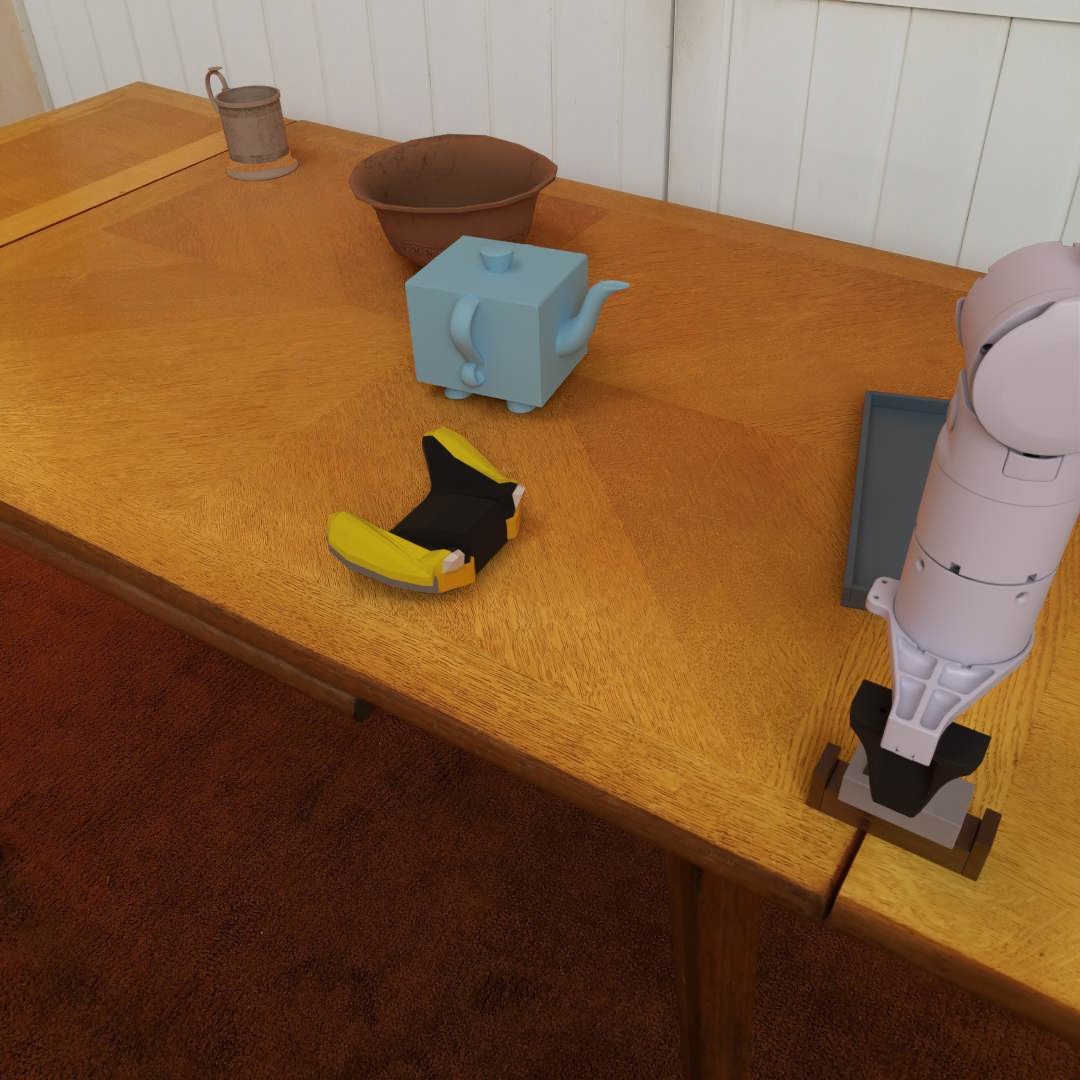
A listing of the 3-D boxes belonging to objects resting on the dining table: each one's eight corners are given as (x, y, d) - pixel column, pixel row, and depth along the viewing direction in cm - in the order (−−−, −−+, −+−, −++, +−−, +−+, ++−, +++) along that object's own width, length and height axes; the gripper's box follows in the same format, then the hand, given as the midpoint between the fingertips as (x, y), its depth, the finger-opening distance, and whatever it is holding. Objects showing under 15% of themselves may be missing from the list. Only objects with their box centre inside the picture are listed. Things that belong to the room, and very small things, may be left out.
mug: (312, 165, 139) (296, 72, 131) (254, 185, 133) (233, 90, 125) (251, 145, 146) (232, 56, 139) (193, 163, 141) (170, 72, 133)
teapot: (404, 410, 88) (385, 273, 80) (483, 332, 99) (474, 204, 91) (593, 453, 82) (594, 309, 74) (655, 365, 93) (662, 231, 85)
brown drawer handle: (987, 847, 53) (1002, 813, 51) (976, 882, 51) (991, 848, 50) (820, 774, 57) (828, 741, 55) (805, 805, 55) (812, 771, 53)
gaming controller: (322, 582, 71) (438, 629, 67) (308, 521, 68) (429, 567, 64) (442, 473, 81) (549, 508, 77) (435, 415, 77) (547, 448, 73)
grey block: (967, 807, 53) (977, 782, 51) (952, 850, 51) (962, 825, 49) (855, 760, 55) (862, 735, 54) (836, 799, 53) (843, 774, 52)
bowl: (547, 220, 121) (544, 127, 114) (573, 301, 104) (572, 197, 97) (364, 234, 119) (350, 140, 112) (360, 319, 102) (343, 214, 95)
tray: (985, 422, 84) (990, 404, 83) (998, 633, 65) (1005, 614, 64) (862, 406, 87) (866, 389, 85) (840, 605, 68) (844, 587, 66)
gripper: (936, 430, 48) (883, 632, 56) (832, 611, 38) (787, 820, 47) (1096, 472, 45) (1014, 679, 53) (1025, 680, 35) (939, 890, 44)
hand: (917, 749), depth 50 cm, fingers open, 7 cm apart
